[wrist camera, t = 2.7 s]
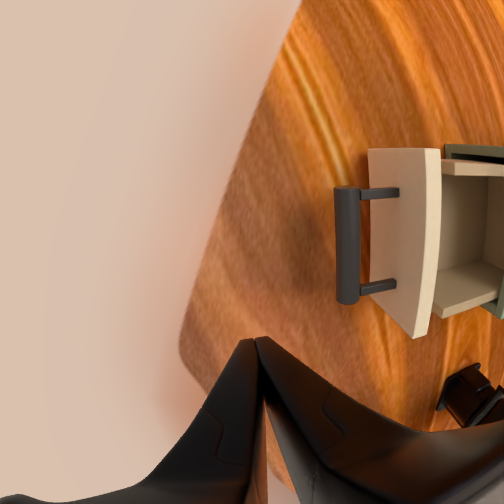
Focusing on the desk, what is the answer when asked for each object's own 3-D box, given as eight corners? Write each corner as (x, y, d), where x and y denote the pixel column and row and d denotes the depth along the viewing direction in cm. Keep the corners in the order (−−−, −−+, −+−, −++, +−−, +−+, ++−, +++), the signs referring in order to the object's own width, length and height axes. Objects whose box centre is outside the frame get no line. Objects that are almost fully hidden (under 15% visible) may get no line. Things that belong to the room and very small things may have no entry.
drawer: (319, 305, 22) (352, 356, 16) (310, 150, 19) (354, 147, 12) (477, 268, 24) (523, 294, 17) (483, 153, 20) (538, 160, 14)
